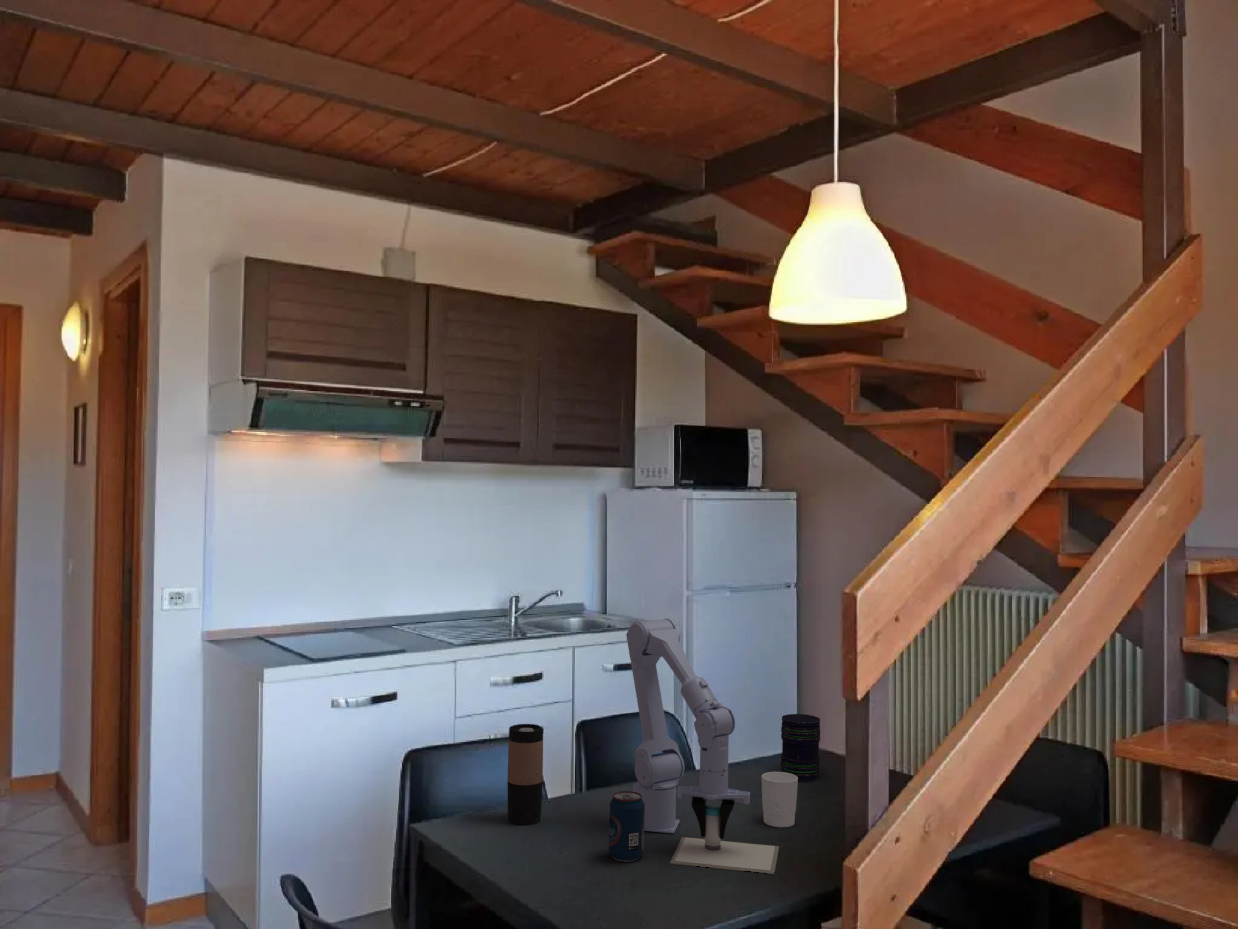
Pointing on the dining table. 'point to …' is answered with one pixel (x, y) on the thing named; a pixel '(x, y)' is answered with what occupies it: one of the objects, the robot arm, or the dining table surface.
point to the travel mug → (525, 774)
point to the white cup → (779, 798)
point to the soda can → (626, 826)
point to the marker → (712, 827)
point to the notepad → (727, 856)
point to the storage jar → (801, 746)
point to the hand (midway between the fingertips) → (712, 836)
